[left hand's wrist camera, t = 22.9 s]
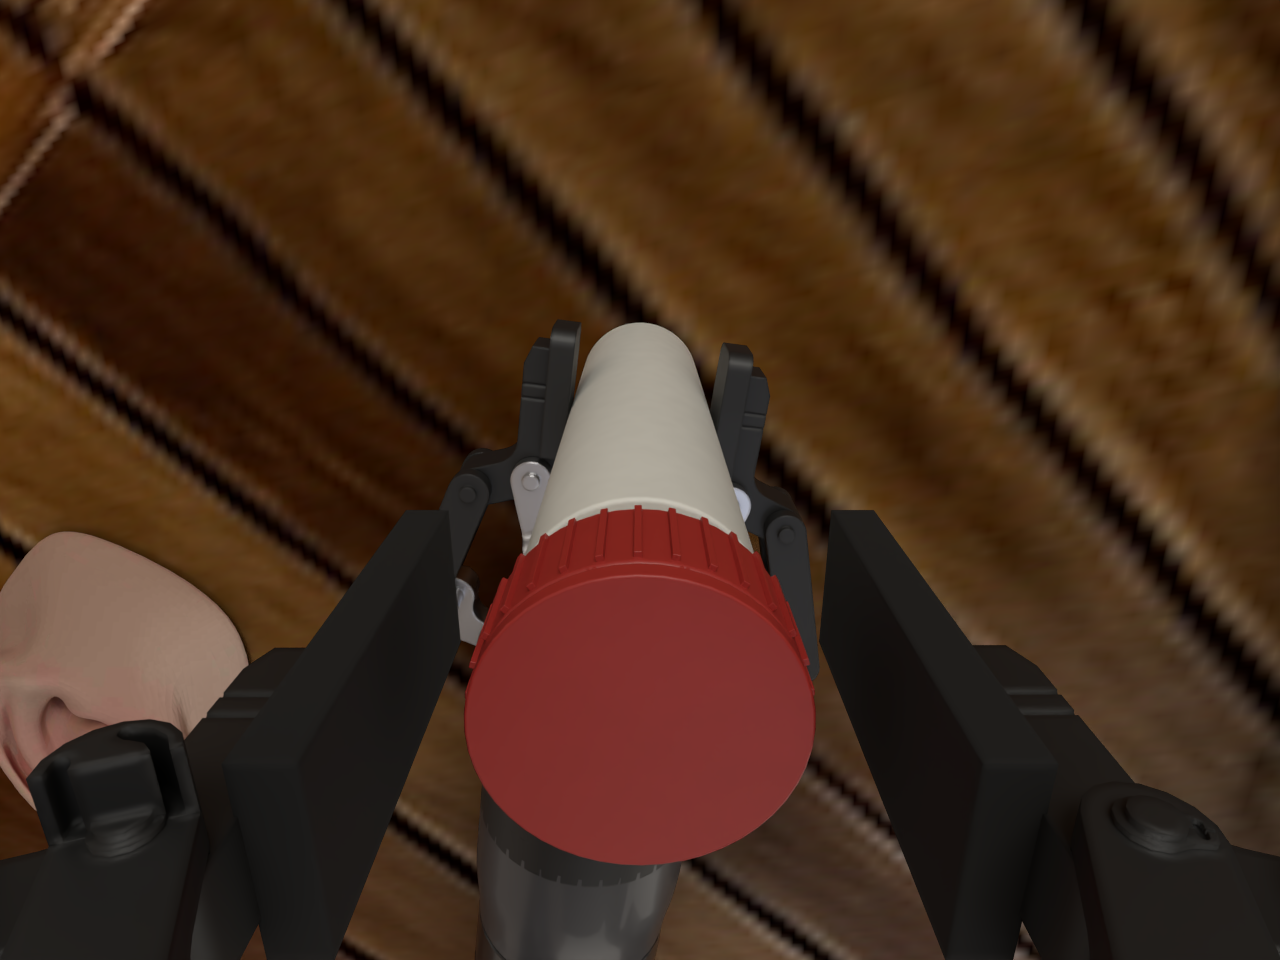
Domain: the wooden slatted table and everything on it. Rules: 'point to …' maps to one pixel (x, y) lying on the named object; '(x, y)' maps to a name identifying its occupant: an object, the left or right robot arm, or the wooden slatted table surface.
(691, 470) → the white tube
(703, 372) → the wooden slatted table surface
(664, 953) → the wooden slatted table surface
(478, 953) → the right robot arm
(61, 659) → the anatomical model
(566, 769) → the lid
